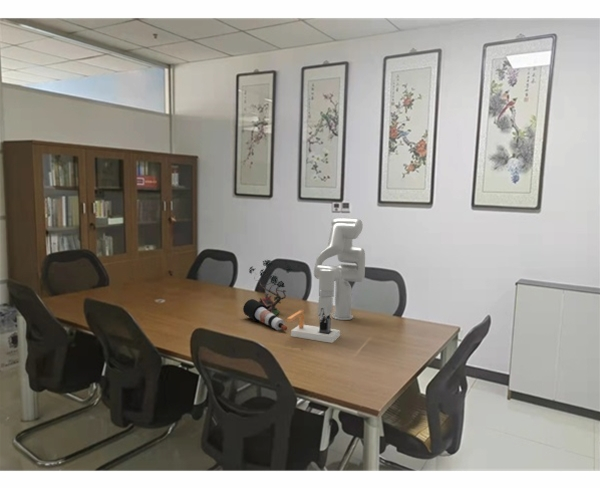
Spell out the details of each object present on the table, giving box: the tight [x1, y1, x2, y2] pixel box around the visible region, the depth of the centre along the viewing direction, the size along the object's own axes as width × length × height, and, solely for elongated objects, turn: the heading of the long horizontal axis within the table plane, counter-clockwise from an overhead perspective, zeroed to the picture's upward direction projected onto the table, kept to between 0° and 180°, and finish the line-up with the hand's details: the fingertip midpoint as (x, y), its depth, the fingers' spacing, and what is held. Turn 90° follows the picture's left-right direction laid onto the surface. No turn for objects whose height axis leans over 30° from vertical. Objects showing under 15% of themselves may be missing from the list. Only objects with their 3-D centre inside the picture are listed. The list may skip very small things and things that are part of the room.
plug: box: [319, 316, 332, 334], centre depth 235 cm, size 4×4×10 cm
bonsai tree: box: [248, 259, 293, 316], centre depth 284 cm, size 35×24×32 cm
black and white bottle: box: [243, 298, 288, 331], centre depth 257 cm, size 10×34×10 cm, turn 39°
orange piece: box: [286, 309, 305, 328], centre depth 233 cm, size 17×2×9 cm, turn 157°
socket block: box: [290, 324, 341, 344], centre depth 237 cm, size 12×22×4 cm, turn 67°
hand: (325, 328), depth 235 cm, fingers closed on plug, 4 cm apart
